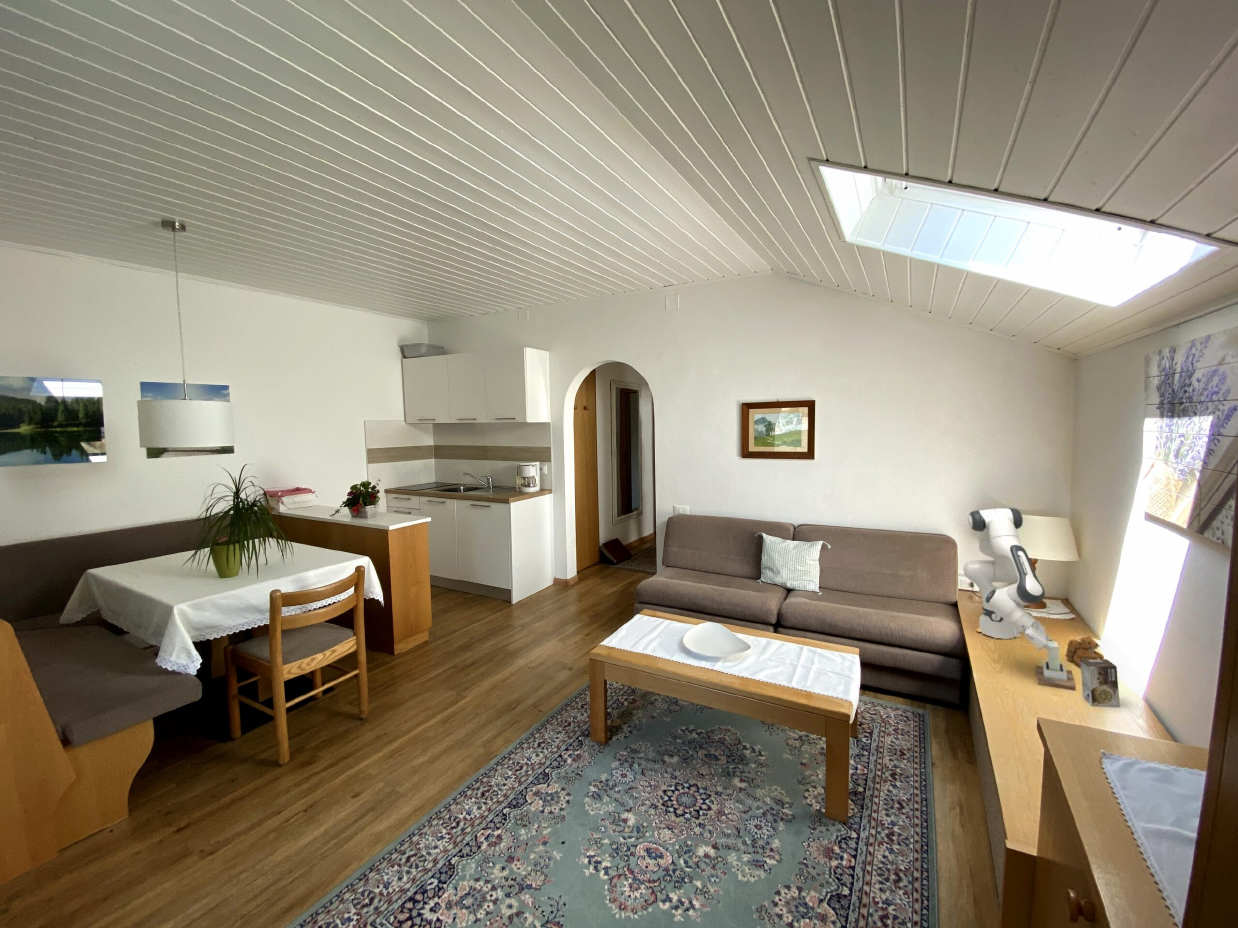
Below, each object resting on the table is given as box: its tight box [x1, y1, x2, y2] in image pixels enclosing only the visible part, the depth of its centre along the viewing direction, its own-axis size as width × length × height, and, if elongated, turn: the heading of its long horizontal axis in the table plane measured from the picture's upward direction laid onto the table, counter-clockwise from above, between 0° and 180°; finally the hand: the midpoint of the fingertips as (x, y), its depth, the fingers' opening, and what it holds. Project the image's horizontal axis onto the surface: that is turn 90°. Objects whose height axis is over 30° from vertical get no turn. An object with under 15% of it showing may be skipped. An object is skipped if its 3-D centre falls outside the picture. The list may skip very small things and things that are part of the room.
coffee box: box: [1080, 658, 1121, 707], centre depth 203 cm, size 9×6×16 cm
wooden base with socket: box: [1036, 660, 1076, 691], centre depth 223 cm, size 16×12×6 cm
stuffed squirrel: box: [1064, 635, 1105, 669], centre depth 232 cm, size 10×14×13 cm
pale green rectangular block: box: [1047, 640, 1061, 671], centre depth 223 cm, size 6×4×14 cm, turn 143°
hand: (1053, 647), depth 222 cm, fingers open, 8 cm apart
